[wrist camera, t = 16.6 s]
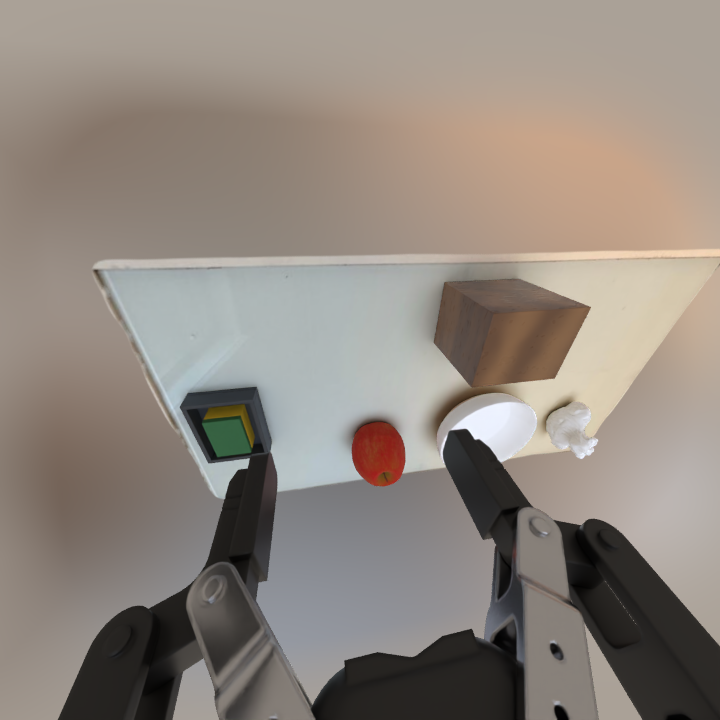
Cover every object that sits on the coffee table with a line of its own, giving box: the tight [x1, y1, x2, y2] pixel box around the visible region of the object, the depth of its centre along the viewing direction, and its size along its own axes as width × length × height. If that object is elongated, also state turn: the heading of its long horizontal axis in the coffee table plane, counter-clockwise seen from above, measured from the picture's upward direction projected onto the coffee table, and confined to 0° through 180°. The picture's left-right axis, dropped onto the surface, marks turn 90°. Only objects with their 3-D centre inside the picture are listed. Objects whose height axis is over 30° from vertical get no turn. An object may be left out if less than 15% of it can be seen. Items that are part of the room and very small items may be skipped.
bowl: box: [437, 393, 537, 464], centre depth 52 cm, size 20×20×6 cm
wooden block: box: [434, 279, 591, 387], centre depth 36 cm, size 12×10×12 cm
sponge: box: [202, 404, 255, 457], centre depth 43 cm, size 8×6×4 cm
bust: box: [546, 401, 598, 459], centre depth 55 cm, size 12×8×11 cm
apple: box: [352, 422, 405, 486], centre depth 48 cm, size 10×10×10 cm
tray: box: [180, 387, 272, 463], centre depth 43 cm, size 13×10×3 cm
